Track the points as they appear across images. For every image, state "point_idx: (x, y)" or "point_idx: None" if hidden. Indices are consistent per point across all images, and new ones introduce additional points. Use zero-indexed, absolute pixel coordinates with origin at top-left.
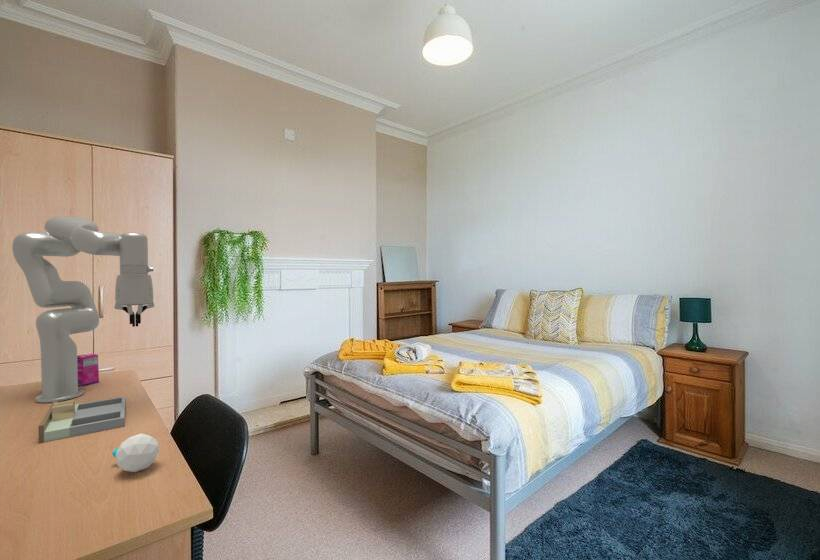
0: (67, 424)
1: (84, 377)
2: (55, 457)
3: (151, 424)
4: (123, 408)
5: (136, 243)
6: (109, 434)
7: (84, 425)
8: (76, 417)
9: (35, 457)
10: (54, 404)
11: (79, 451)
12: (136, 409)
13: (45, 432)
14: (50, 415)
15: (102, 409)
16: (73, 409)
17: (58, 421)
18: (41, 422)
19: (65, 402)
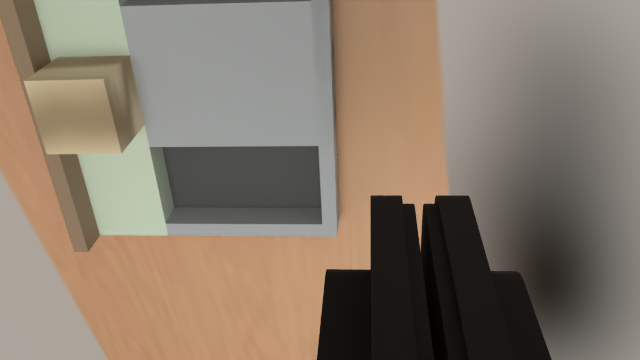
0: (149, 195)
1: None
2: (189, 341)
3: None
4: (327, 111)
5: None
6: (298, 263)
7: (212, 235)
8: (155, 126)
9: (138, 315)
10: (35, 107)
11: (238, 338)
12: (380, 17)
13: (104, 234)
14: None
15: (238, 70)
16: (129, 127)
17: None
18: (66, 217)
19: (73, 99)
